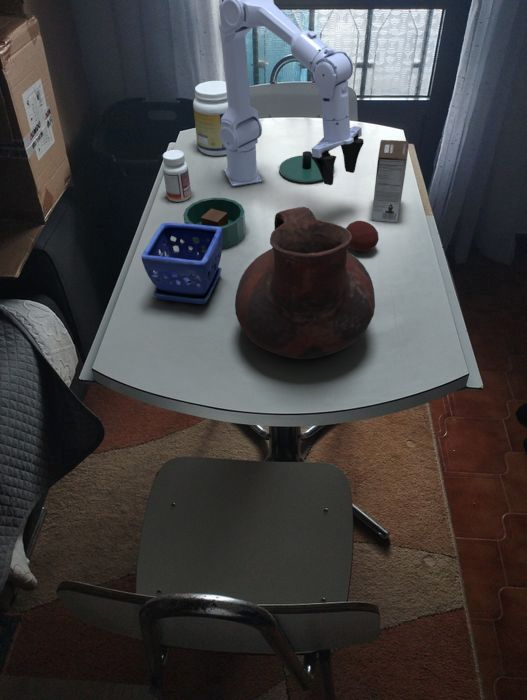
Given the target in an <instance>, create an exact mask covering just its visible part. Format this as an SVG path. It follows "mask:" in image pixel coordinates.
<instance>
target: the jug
mask: <svg viewBox="0 0 527 700" xmlns="http://www.w3.org/2000/svg"><path fill="white" fill-rule="evenodd" d="M351 239H352V235H351V233H350V231H348V230H347V229H346V228H345V227H343V226H341V225H339V224H337V223H334V222H329V221H325V220H324V221H323V220H320V219H317V217H316V216H315V214H314V213H313V212H312V210H311V209H310V208H309V207H307V206H298V207H294V208H293V207H292V208H288V209H284V210H280V211H278V212H276V214H275V215H274V229H273V230H272V232H271V234H270V237H269V244H270V246H271V247H272V248H270V249H268V250H266V251H264V252H263V253H261V254H260V255H258V256H257V257H256V258H255V259H253V261H252V262H251V263H250V264H249V265H248V266H247V267H246V269H245V270H244V271H243V273H242V275H241V276H240V277H241V278H240V279H239V282H238V285H237V289H236V293H235V301H234V308H235V316H236V318H237V321H238V324H239V327H240V328H241V329H242V331H243V333H244V334H245V336H247V338H248V339H250V341H251V342H253V344H255V345H257V346H258V347H259V348H261V349H263V350H265V351H267V352H269V353H272V354H275V355H278V356H281V357H285V358H290V359H294V360H295V359H296V360H297V359H298V360H310V359H318V358H322V357H326V356H328V355H332V354H335V353H338V352H340V351H342V350H344V349H346V348H348V347H349V346H351V345H352V344H353V343H355V342H357V340H358V339H359V338H360V337H362V336H363V334H364V333H365V332H366V330H367V329H368V327H369V325H370V323H371V322H372V319H373V317H374V315H375V309H376V296H375V288H374V283H373V280H372V278H371V276H370V274H369V272H368V270H367V269H366V267H365V265H364V264H363V262H362V261H360V260H359V259H358V258H357V257H356V256H354V255H353V253H350V252H348V251H349V245H350V242H351Z"/></svg>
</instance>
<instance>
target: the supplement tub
mask: <svg viewBox="0 0 527 700" xmlns="http://www.w3.org/2000/svg"><path fill="white" fill-rule="evenodd" d="M194 96H195V97H194V99H193V102H192V107H193V116H194V125H195V126H194V127H195V135H196V143H197V144H196V145H197V149H198V150H199V151H200V153H203V154H205V155H207V156H215V157H217V156H218V157H219V156H225V155H226V156H227V152H226V147H225V146H224V145H223V143H222V141H221V138H220V129H221V118H222V116H223V115H224V113H225V112H226V110H227V109H228V100H227V90H226V80H209V81H204V82H201V83H198V84H197V85H196V86H195V88H194Z"/></svg>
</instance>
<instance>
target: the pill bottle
mask: <svg viewBox="0 0 527 700" xmlns="http://www.w3.org/2000/svg"><path fill="white" fill-rule="evenodd" d="M162 160H163V165H162V173H163V179H164V185H165V192H166V197H167V199H168V200H170V201H171V202H174V203H175V202H178V203H179V202H185V201H187V200H188V199H190V198H191V196H192V189H191V180H190V173H189V166H188V163H187V162H186V161H185V160H186V158H185V152H183V151H182V150H180V149H170V150H167V151H165V152H164V153H162Z"/></svg>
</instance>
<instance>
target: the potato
mask: <svg viewBox="0 0 527 700" xmlns="http://www.w3.org/2000/svg"><path fill="white" fill-rule="evenodd" d="M346 229H347V230H348V231H350V233H351V235H352V239H351V242H350V245H349V247H348V249H351V250H353V251H358V252H368V251H371V250H373V249H375V247H376V246H377V244H378V242H379V240H380V239H379V232H378V230H377V229H376V227H375V226H374V225H373V224H371V223H370V222H368V221H365V220H355V221H353V222H351V223H348V225H347V226H346Z"/></svg>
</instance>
